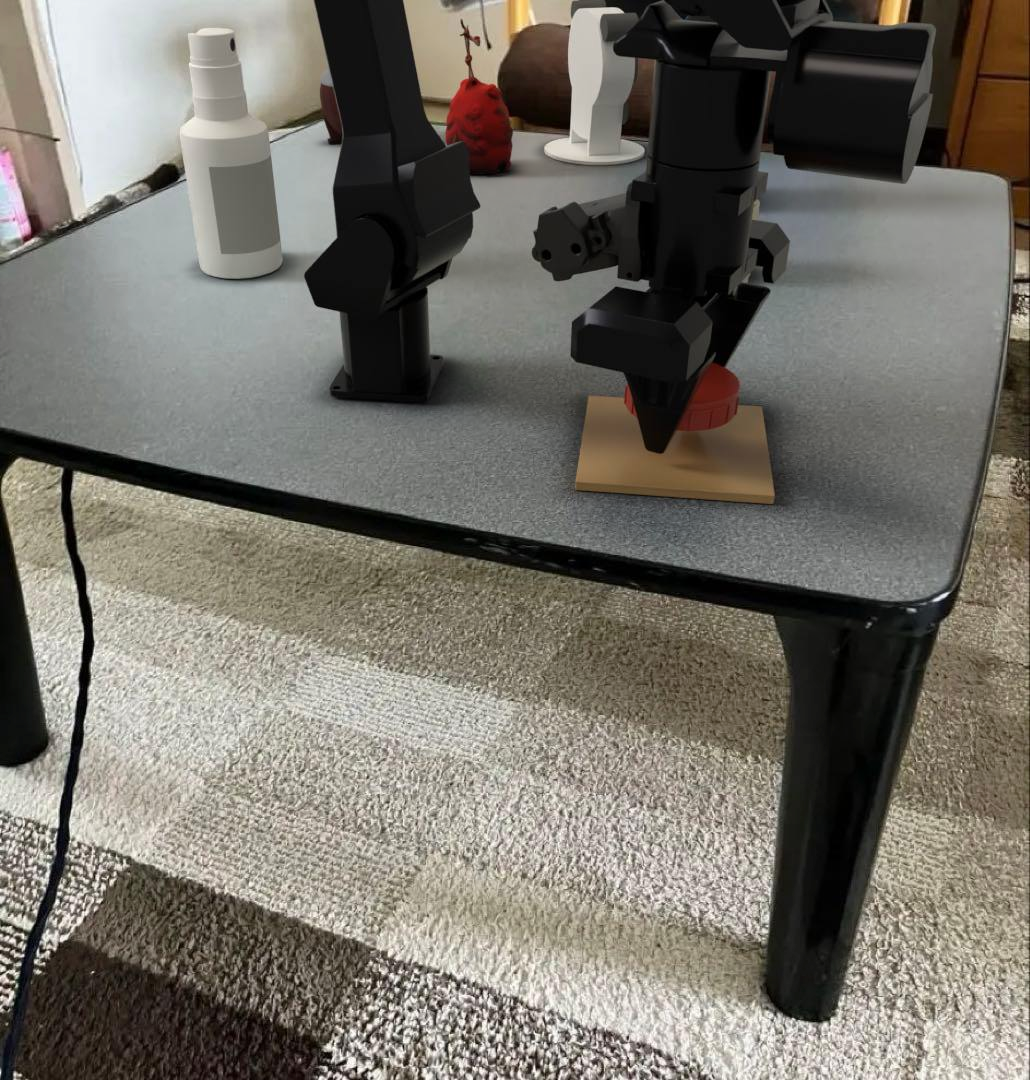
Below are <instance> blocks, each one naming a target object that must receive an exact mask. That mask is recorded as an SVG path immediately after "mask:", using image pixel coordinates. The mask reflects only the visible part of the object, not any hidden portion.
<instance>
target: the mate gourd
mask: <svg viewBox="0 0 1030 1080" xmlns="http://www.w3.org/2000/svg"><path fill="white" fill-rule="evenodd" d="M319 98H320V105H321V111H322V112H321V113H322V117H323V118H322V119H323V121H324V124H325V127H326V130H327V133H328V136H329V138H327V143H328V145H339V144H342V139H343V132H342V124H341V120H340V115H339V111H338V106H337V102H336V97H335V93H334V89H333V84H332V80H331V75H330V71H329V67H328V66H327V68H326V69H325V70H324V72H323V74H322V76H321V78H320V86H319Z"/></svg>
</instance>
